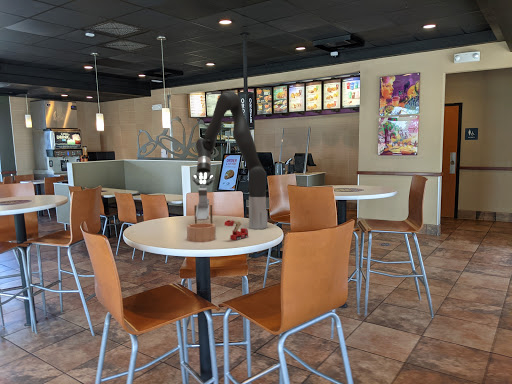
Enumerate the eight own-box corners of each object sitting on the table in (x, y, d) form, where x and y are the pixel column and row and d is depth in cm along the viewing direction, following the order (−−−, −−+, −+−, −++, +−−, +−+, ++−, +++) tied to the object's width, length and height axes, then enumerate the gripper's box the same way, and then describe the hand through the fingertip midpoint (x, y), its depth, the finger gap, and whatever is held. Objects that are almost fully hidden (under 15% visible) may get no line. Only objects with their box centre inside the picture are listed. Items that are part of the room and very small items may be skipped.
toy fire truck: (249, 237, 186) (249, 217, 185) (229, 242, 175) (229, 221, 175) (243, 236, 188) (243, 216, 187) (224, 241, 178) (224, 220, 177)
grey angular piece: (198, 203, 205) (197, 182, 198) (210, 203, 205) (209, 182, 198) (196, 224, 189) (194, 201, 182) (208, 223, 189) (207, 201, 183)
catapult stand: (193, 229, 205) (192, 203, 204) (215, 229, 206) (215, 203, 204) (190, 235, 191) (190, 207, 190) (214, 234, 192) (214, 206, 190)
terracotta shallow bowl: (220, 237, 185) (220, 224, 184) (203, 243, 174) (203, 229, 173) (199, 234, 191) (199, 222, 191) (181, 239, 180) (181, 226, 180)
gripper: (216, 171, 215) (215, 195, 204) (192, 170, 214) (190, 195, 203) (215, 161, 209) (215, 186, 198) (191, 161, 208) (189, 185, 197)
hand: (202, 190), depth 200 cm, fingers closed
